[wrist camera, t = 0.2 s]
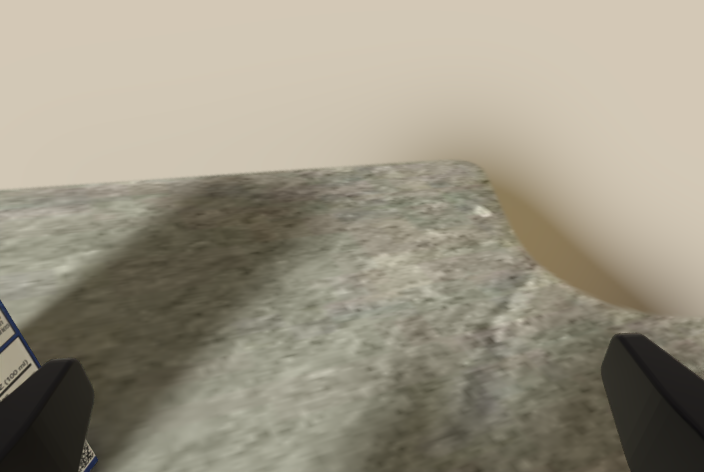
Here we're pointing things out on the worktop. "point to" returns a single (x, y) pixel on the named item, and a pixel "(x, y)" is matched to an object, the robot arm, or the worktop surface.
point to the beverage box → (24, 370)
